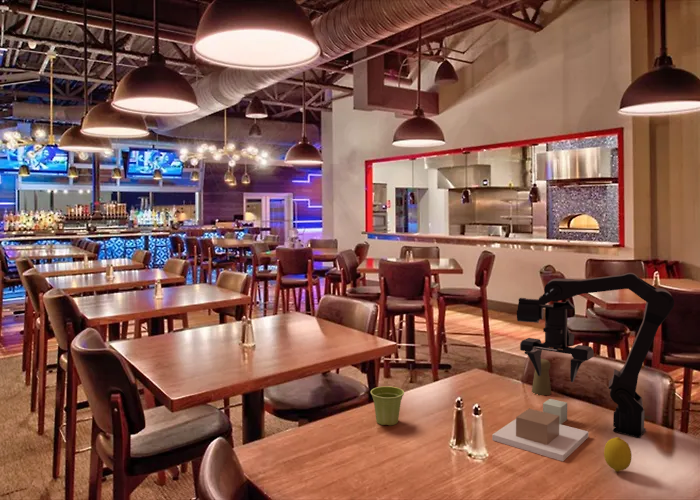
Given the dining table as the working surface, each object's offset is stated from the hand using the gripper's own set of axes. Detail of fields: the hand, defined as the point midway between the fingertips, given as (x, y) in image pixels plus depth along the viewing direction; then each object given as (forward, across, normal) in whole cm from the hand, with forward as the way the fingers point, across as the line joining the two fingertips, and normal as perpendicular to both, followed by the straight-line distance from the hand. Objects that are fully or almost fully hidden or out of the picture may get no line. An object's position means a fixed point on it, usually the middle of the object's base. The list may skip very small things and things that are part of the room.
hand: (555, 378), depth 149 cm
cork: (+12, +12, -20) cm, 26 cm away
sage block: (+12, 0, 0) cm, 12 cm away
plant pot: (+12, +35, +32) cm, 49 cm away
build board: (+12, -2, +15) cm, 19 cm away
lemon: (+12, -22, +21) cm, 33 cm away
